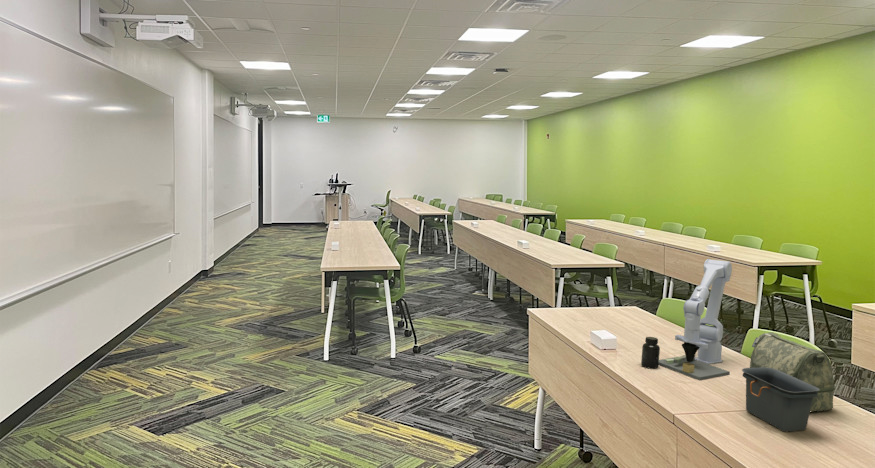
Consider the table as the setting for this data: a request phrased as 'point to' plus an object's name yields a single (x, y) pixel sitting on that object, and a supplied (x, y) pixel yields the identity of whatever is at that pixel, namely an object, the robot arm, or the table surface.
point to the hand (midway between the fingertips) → (689, 361)
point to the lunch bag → (796, 365)
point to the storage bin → (778, 398)
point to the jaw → (680, 359)
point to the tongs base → (695, 369)
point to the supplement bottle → (650, 353)
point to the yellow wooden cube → (688, 367)
